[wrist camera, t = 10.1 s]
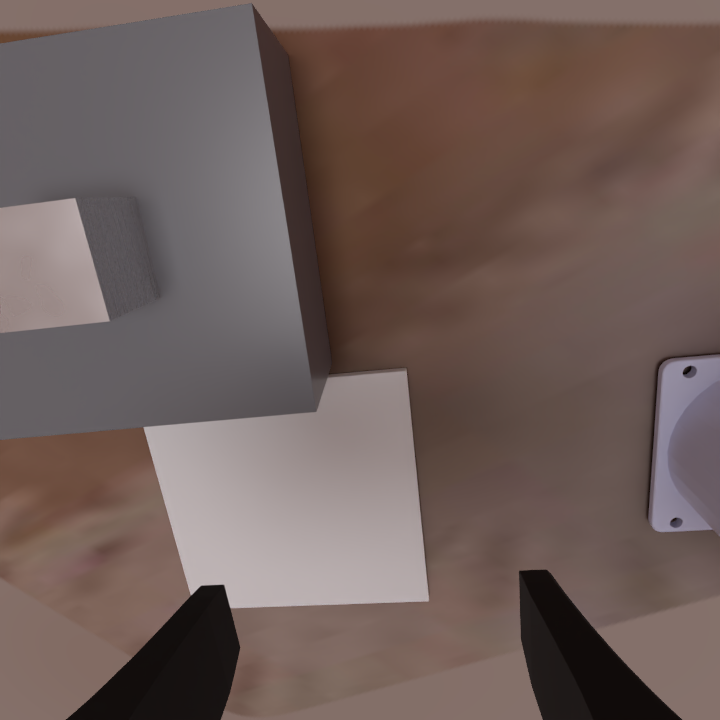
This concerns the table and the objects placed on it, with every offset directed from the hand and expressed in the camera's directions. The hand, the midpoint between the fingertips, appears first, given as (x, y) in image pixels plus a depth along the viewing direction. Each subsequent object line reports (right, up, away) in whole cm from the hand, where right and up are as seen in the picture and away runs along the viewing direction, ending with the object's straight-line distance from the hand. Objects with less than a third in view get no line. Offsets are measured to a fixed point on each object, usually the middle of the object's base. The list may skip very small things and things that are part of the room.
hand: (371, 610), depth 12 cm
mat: (-4, 0, +11) cm, 12 cm away
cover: (-8, +11, +8) cm, 16 cm away
